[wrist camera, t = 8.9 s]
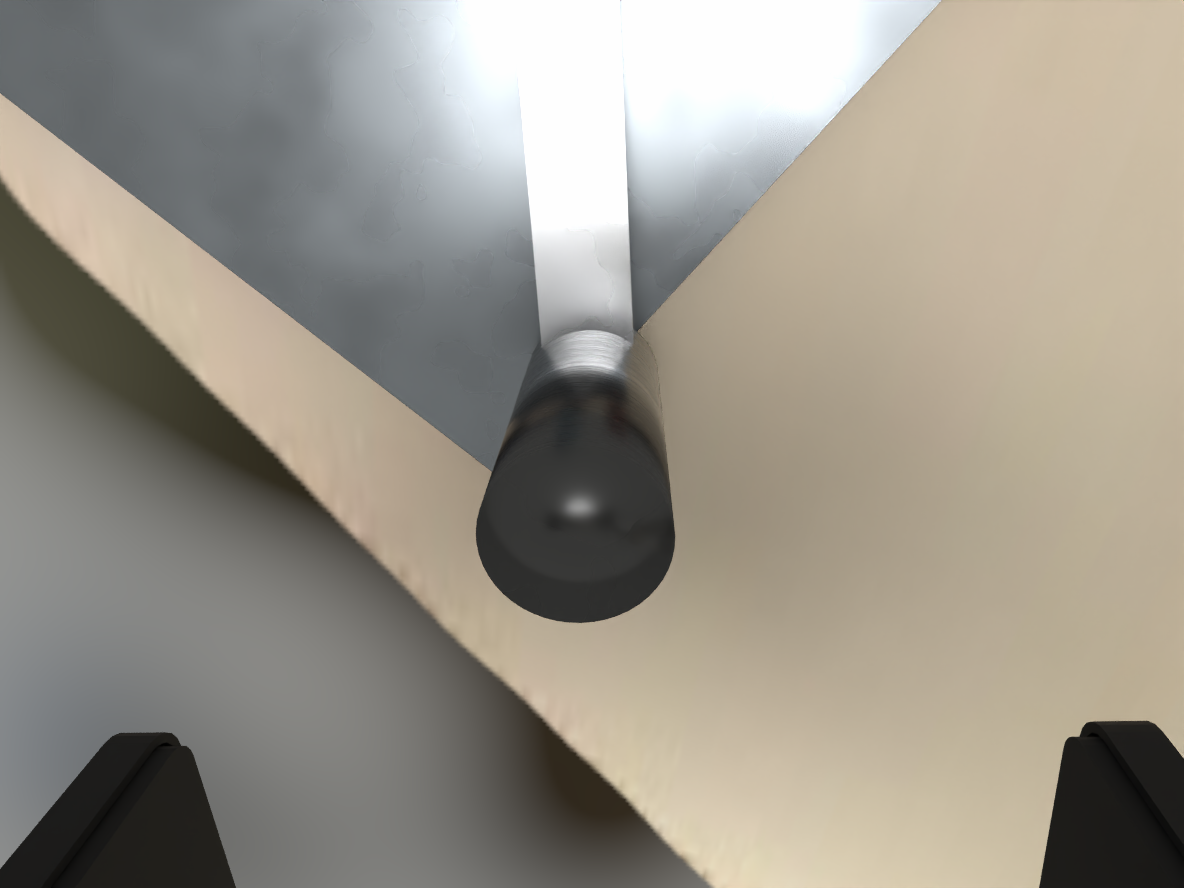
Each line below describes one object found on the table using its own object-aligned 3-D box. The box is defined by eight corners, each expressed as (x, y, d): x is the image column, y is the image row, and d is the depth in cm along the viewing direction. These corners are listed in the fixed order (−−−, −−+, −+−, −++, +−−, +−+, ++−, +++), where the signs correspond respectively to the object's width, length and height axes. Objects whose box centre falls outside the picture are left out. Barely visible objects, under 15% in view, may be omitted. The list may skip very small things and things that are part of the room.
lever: (428, -431, 16) (237, -914, 8) (658, -454, 16) (691, -975, 8) (517, 435, 24) (459, 626, 15) (677, 429, 23) (705, 619, 15)
